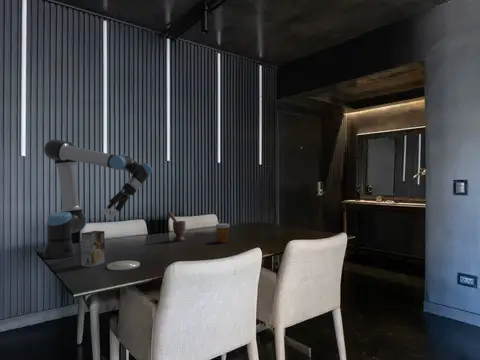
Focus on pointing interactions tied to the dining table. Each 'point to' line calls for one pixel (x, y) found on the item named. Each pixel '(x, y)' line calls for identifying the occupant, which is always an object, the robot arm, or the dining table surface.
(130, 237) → the dining table surface
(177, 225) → the mortar and pestle
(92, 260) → the coffee box
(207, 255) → the dining table surface
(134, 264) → the plate
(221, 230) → the disposable coffee cup
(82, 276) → the dining table surface
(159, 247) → the dining table surface
